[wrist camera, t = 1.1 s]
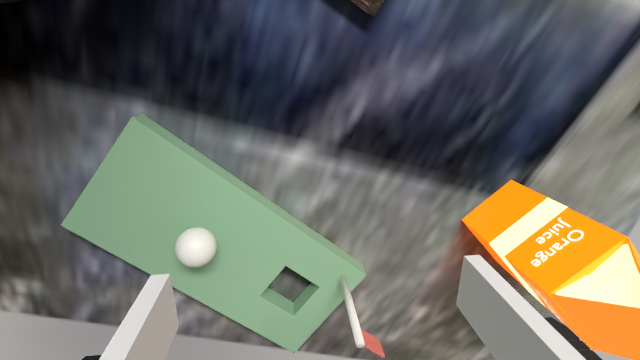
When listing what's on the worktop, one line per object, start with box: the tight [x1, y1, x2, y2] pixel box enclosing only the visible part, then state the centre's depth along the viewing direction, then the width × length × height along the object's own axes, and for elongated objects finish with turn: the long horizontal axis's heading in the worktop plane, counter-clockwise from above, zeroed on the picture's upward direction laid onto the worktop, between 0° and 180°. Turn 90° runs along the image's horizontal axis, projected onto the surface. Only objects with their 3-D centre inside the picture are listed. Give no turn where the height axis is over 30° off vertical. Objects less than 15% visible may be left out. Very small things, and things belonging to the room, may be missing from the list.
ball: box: [175, 227, 217, 267], centre depth 34 cm, size 4×4×4 cm
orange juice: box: [462, 180, 640, 360], centre depth 33 cm, size 8×9×20 cm
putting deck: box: [61, 113, 385, 358], centre depth 34 cm, size 31×14×12 cm, turn 51°
